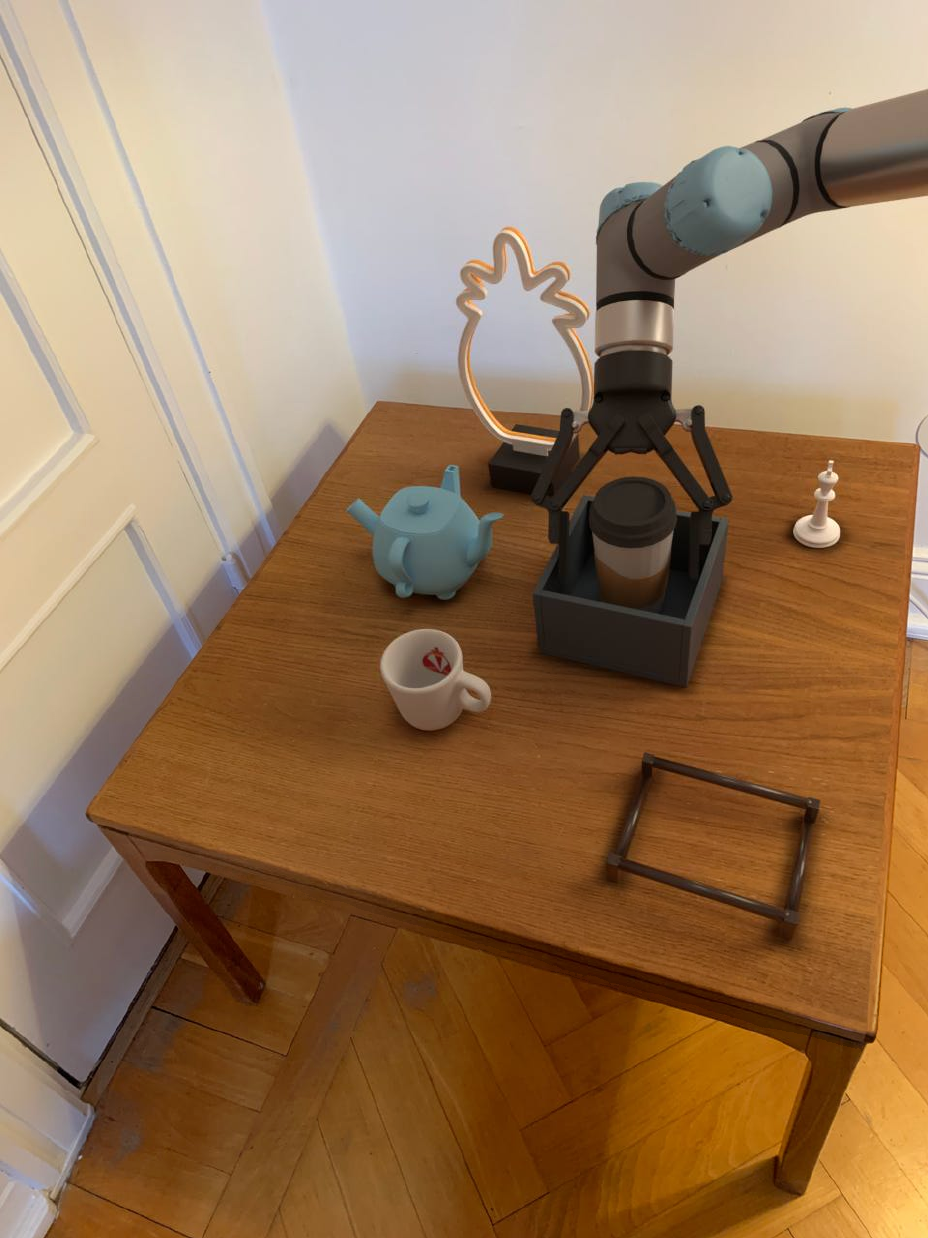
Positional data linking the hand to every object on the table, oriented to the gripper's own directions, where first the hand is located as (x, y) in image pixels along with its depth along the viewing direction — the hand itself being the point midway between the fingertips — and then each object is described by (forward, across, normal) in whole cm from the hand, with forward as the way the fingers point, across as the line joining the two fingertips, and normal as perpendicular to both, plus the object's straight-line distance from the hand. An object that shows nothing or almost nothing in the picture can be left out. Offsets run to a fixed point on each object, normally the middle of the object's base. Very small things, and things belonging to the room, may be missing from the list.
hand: (627, 578), depth 85 cm
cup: (+14, +18, +2) cm, 23 cm away
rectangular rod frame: (+23, -8, +12) cm, 27 cm away
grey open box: (+4, 0, -8) cm, 9 cm away
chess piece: (-5, -21, -17) cm, 27 cm away
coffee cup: (+3, 0, -7) cm, 8 cm away
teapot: (-1, +22, -13) cm, 26 cm away
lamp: (-13, +12, -26) cm, 31 cm away
